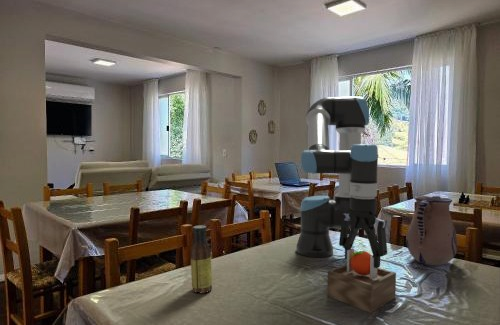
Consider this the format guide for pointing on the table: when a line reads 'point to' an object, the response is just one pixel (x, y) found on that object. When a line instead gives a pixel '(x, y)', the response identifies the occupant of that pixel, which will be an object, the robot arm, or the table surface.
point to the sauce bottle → (201, 261)
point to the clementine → (361, 262)
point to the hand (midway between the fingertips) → (361, 274)
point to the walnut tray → (361, 288)
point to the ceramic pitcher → (432, 231)
